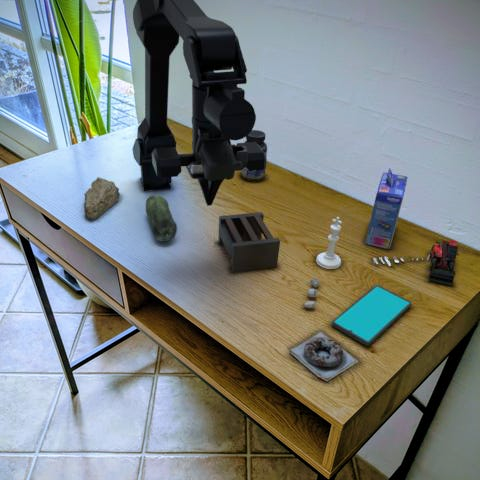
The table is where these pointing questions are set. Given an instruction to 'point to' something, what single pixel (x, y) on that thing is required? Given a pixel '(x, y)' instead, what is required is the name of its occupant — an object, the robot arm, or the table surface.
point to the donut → (323, 356)
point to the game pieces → (312, 293)
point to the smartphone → (371, 315)
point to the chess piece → (331, 249)
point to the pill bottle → (259, 139)
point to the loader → (443, 262)
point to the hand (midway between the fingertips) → (208, 204)
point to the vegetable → (160, 218)
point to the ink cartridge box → (386, 210)
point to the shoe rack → (248, 242)
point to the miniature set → (394, 260)
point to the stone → (100, 197)
